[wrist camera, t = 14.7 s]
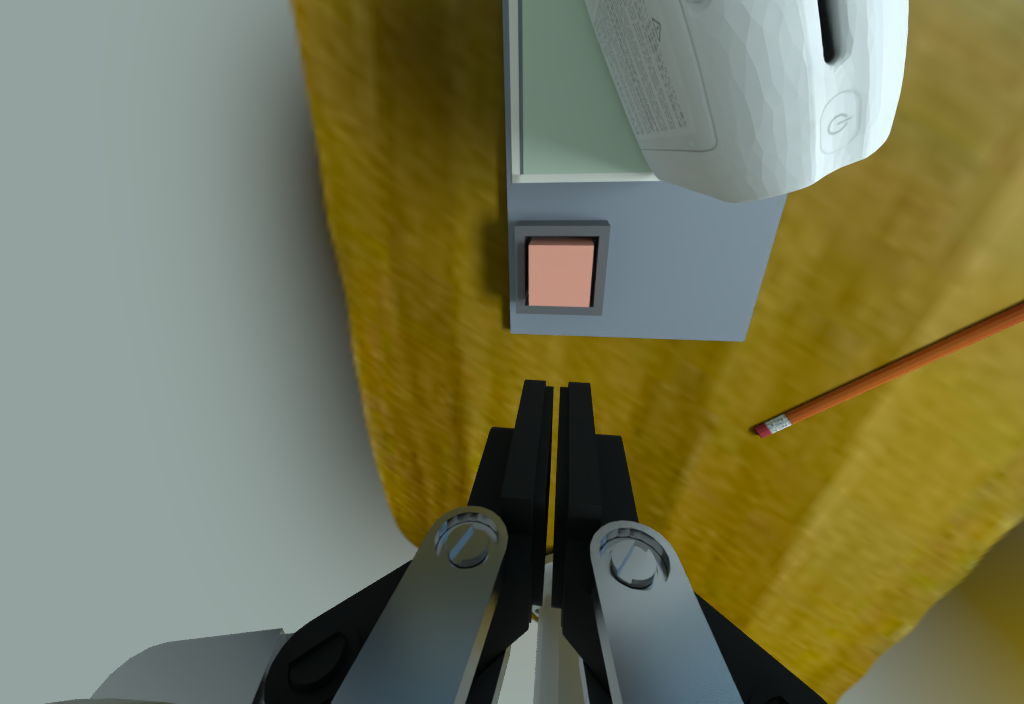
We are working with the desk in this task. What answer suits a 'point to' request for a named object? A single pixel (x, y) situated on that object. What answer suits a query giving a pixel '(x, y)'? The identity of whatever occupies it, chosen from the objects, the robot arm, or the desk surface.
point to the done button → (560, 271)
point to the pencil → (896, 369)
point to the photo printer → (754, 87)
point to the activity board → (614, 199)
